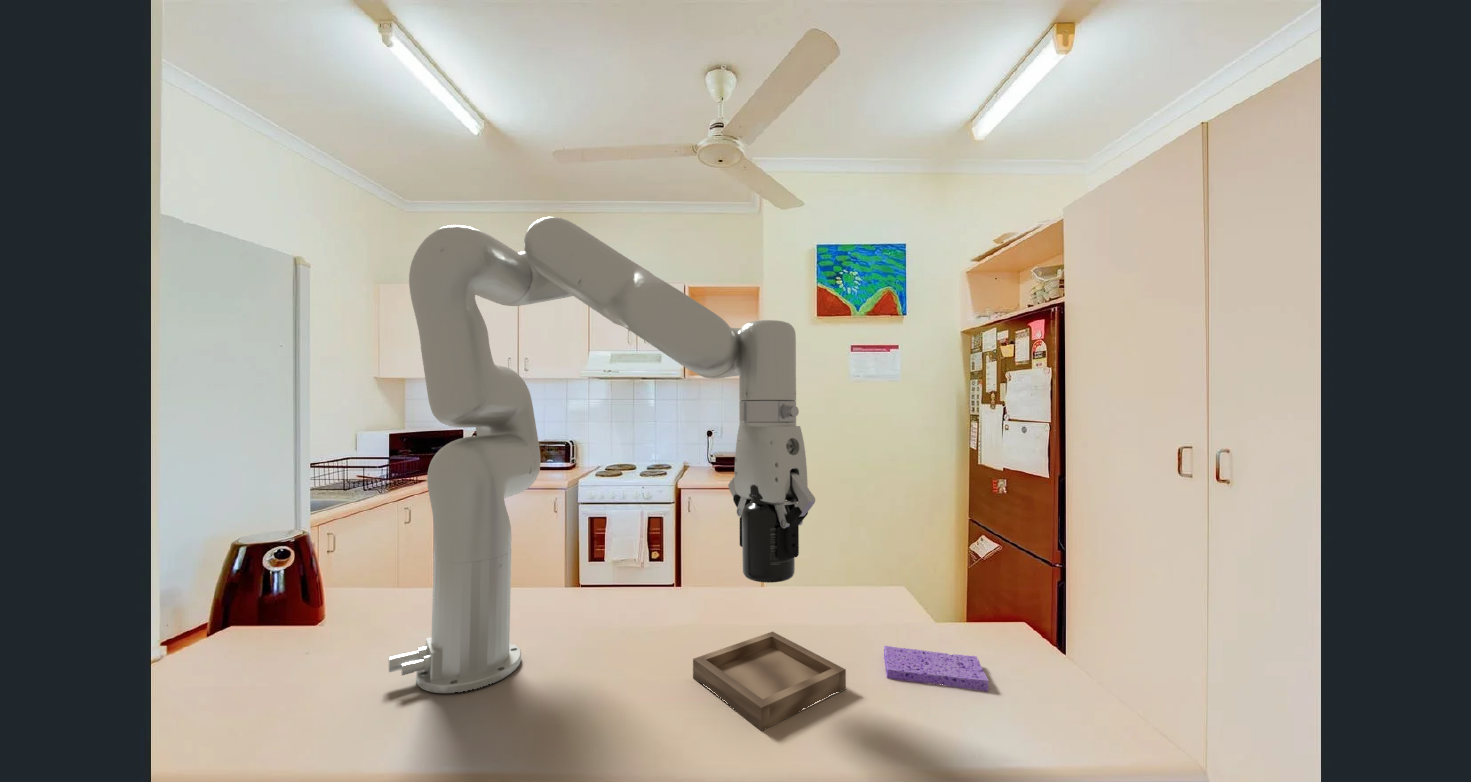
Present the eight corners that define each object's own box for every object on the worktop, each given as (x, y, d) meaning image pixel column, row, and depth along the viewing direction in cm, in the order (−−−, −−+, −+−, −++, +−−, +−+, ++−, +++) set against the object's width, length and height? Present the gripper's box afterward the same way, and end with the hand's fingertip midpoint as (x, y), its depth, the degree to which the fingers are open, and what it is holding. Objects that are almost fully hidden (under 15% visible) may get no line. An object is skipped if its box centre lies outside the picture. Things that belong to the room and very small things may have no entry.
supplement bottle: (794, 568, 69) (794, 479, 70) (795, 585, 63) (794, 487, 63) (744, 566, 70) (744, 479, 71) (739, 583, 63) (739, 486, 64)
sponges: (989, 696, 64) (988, 680, 64) (885, 682, 67) (885, 667, 67) (977, 669, 71) (977, 655, 71) (883, 657, 74) (883, 644, 74)
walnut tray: (761, 731, 56) (761, 707, 56) (692, 678, 67) (693, 658, 67) (845, 689, 64) (845, 669, 65) (772, 648, 76) (772, 631, 76)
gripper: (836, 415, 63) (838, 562, 62) (748, 414, 76) (748, 534, 76) (792, 415, 58) (793, 573, 57) (707, 415, 72) (707, 542, 71)
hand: (768, 550), depth 67 cm, fingers closed on supplement bottle, 6 cm apart
